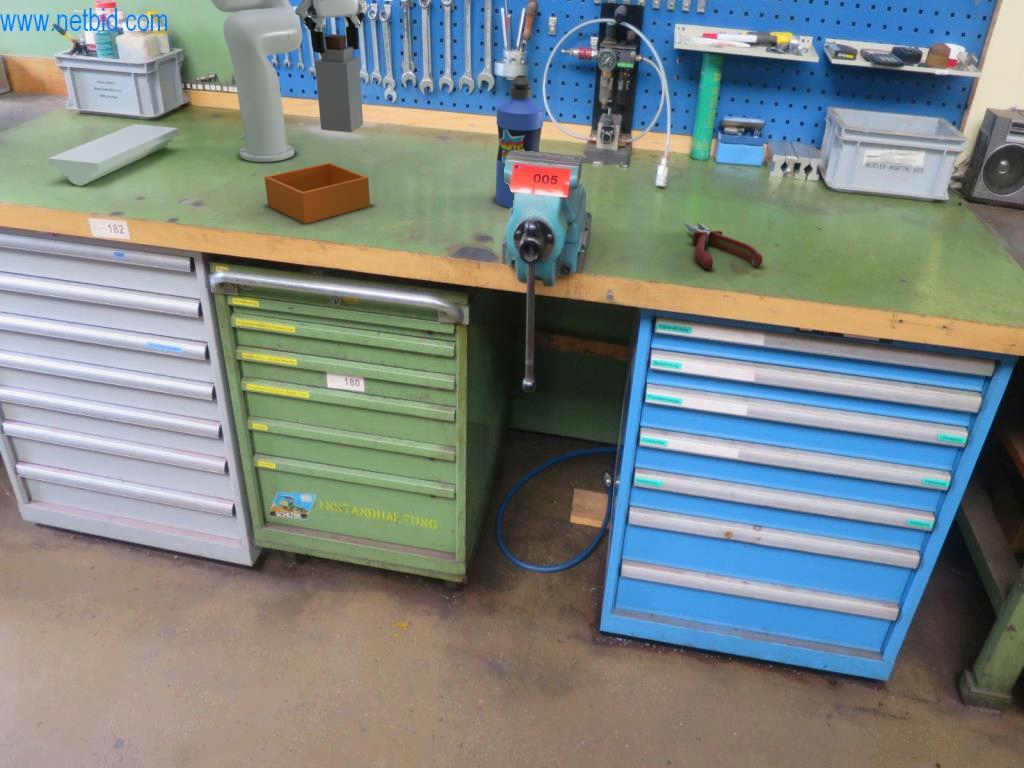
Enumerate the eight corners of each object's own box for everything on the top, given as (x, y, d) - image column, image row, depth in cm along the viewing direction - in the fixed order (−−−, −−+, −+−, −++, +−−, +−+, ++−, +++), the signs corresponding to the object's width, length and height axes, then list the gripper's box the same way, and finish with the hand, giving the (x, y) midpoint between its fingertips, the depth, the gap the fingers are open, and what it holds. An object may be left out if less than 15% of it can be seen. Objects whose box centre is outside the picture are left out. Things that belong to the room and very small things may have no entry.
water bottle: (507, 191, 172) (510, 69, 159) (546, 198, 169) (552, 75, 156) (487, 203, 165) (489, 77, 152) (527, 211, 162) (533, 83, 148)
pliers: (716, 227, 157) (719, 215, 156) (764, 268, 140) (767, 254, 139) (662, 230, 155) (664, 217, 154) (703, 272, 138) (706, 258, 137)
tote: (268, 206, 160) (264, 176, 156) (332, 190, 169) (329, 162, 166) (305, 223, 152) (302, 193, 149) (370, 206, 161) (368, 177, 158)
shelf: (182, 150, 190) (178, 128, 188) (103, 188, 165) (97, 163, 163) (139, 146, 192) (134, 124, 189) (55, 183, 167) (48, 158, 164)
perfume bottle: (351, 132, 165) (344, 39, 156) (321, 129, 166) (312, 37, 157) (363, 124, 171) (357, 34, 161) (333, 122, 172) (326, 32, 162)
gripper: (354, -51, 159) (360, 43, 168) (277, -49, 148) (288, 52, 157) (377, -48, 154) (382, 49, 164) (300, -46, 143) (310, 57, 153)
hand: (336, 49), depth 160 cm, fingers closed on perfume bottle, 7 cm apart
